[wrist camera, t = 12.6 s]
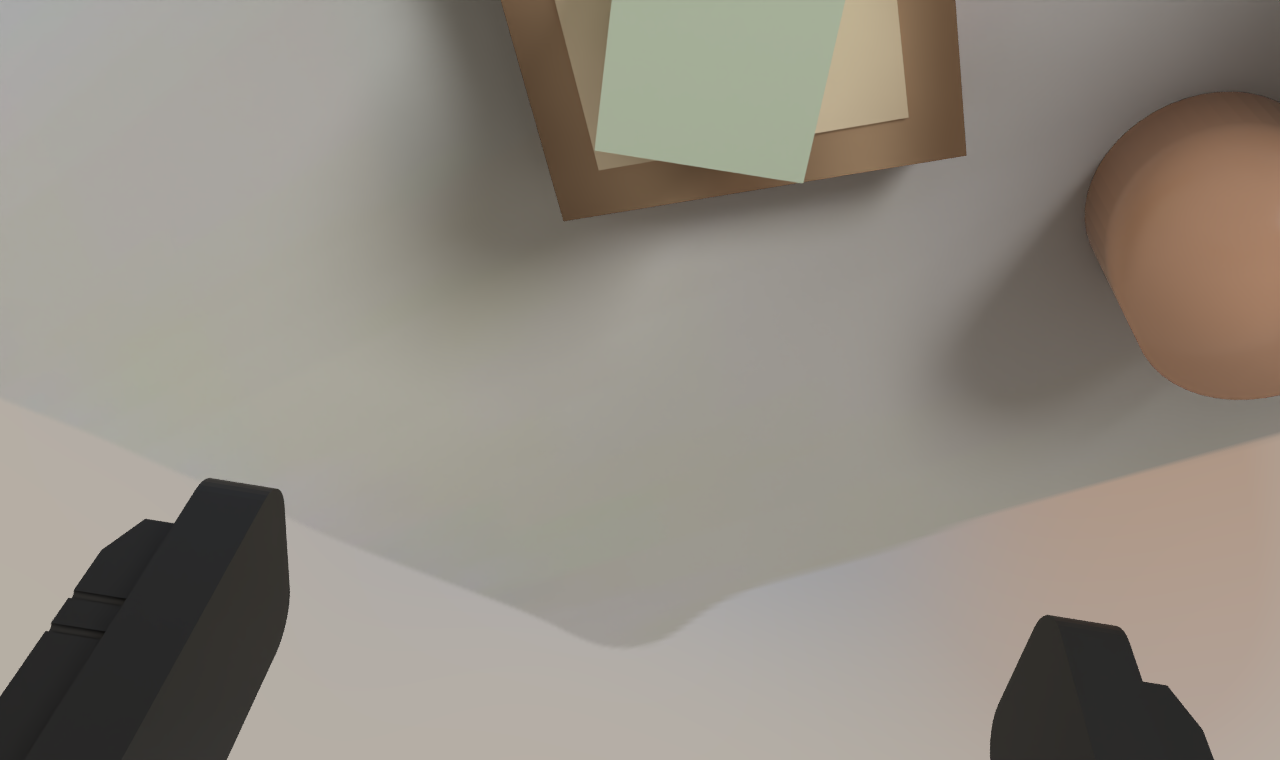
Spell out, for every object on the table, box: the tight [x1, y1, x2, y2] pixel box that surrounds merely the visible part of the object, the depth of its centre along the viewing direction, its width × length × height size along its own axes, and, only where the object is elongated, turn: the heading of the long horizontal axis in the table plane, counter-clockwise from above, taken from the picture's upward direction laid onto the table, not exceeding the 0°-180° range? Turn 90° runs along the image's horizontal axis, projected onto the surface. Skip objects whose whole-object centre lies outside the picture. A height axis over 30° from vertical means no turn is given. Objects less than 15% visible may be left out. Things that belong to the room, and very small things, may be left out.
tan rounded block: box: [1085, 92, 1280, 400], centre depth 34 cm, size 7×7×6 cm
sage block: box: [595, 0, 845, 183], centre depth 28 cm, size 5×5×6 cm
